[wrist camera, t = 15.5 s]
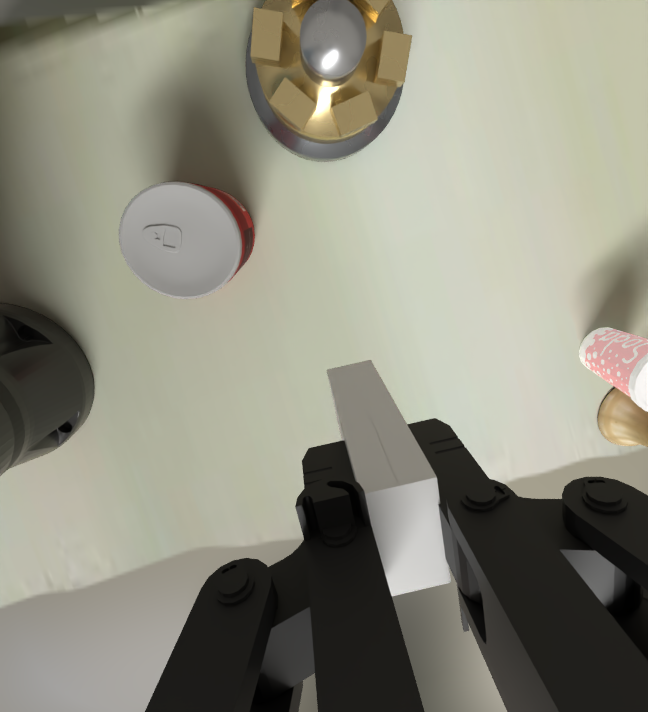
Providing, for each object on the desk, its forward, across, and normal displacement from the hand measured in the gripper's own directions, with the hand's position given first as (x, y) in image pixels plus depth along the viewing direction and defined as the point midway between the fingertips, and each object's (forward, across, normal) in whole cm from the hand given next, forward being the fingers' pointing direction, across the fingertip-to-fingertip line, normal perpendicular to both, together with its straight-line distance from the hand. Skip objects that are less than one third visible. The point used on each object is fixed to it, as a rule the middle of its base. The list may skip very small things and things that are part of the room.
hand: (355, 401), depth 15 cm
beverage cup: (+27, +28, -14) cm, 41 cm away
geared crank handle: (+25, +6, +19) cm, 32 cm away
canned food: (+29, -8, +5) cm, 30 cm away
